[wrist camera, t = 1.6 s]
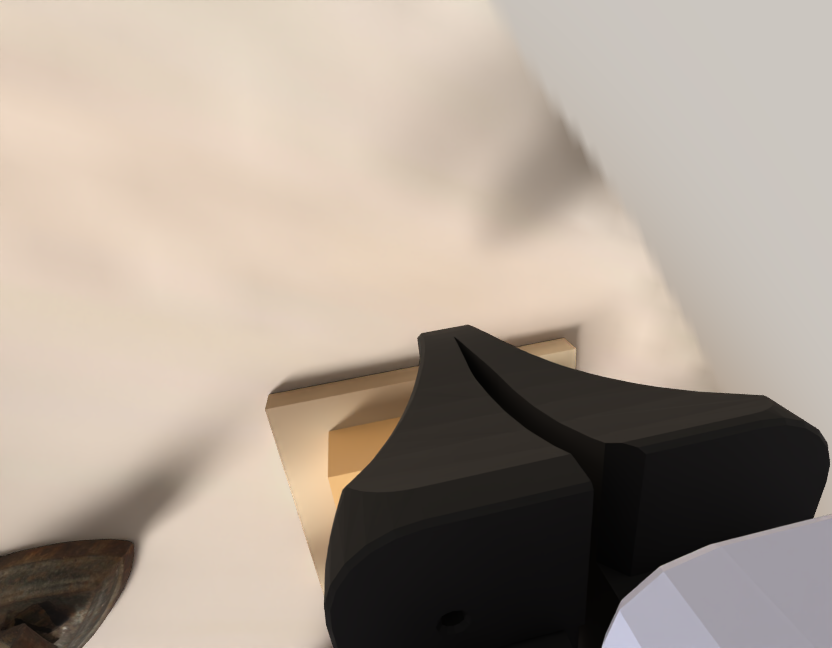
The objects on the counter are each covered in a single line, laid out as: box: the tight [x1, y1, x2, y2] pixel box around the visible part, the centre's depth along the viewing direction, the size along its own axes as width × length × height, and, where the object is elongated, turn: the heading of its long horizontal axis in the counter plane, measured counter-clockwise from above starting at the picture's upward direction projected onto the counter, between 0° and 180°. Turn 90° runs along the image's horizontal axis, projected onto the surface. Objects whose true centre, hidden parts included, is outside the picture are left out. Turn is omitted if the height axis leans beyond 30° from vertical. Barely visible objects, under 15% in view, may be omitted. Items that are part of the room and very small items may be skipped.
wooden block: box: [328, 417, 401, 510], centre depth 17 cm, size 6×8×2 cm
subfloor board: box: [265, 338, 576, 594], centre depth 21 cm, size 17×12×1 cm
